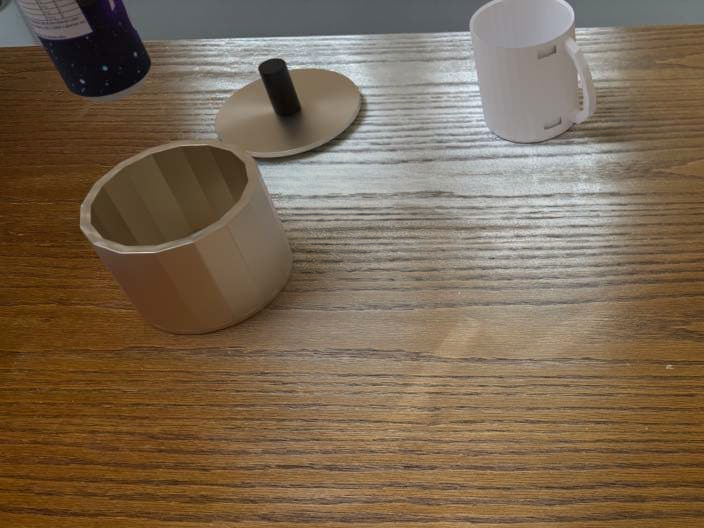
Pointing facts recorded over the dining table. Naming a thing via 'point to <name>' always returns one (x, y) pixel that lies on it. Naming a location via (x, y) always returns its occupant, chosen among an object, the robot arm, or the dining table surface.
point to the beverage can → (91, 46)
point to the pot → (189, 235)
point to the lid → (288, 110)
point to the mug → (530, 69)
